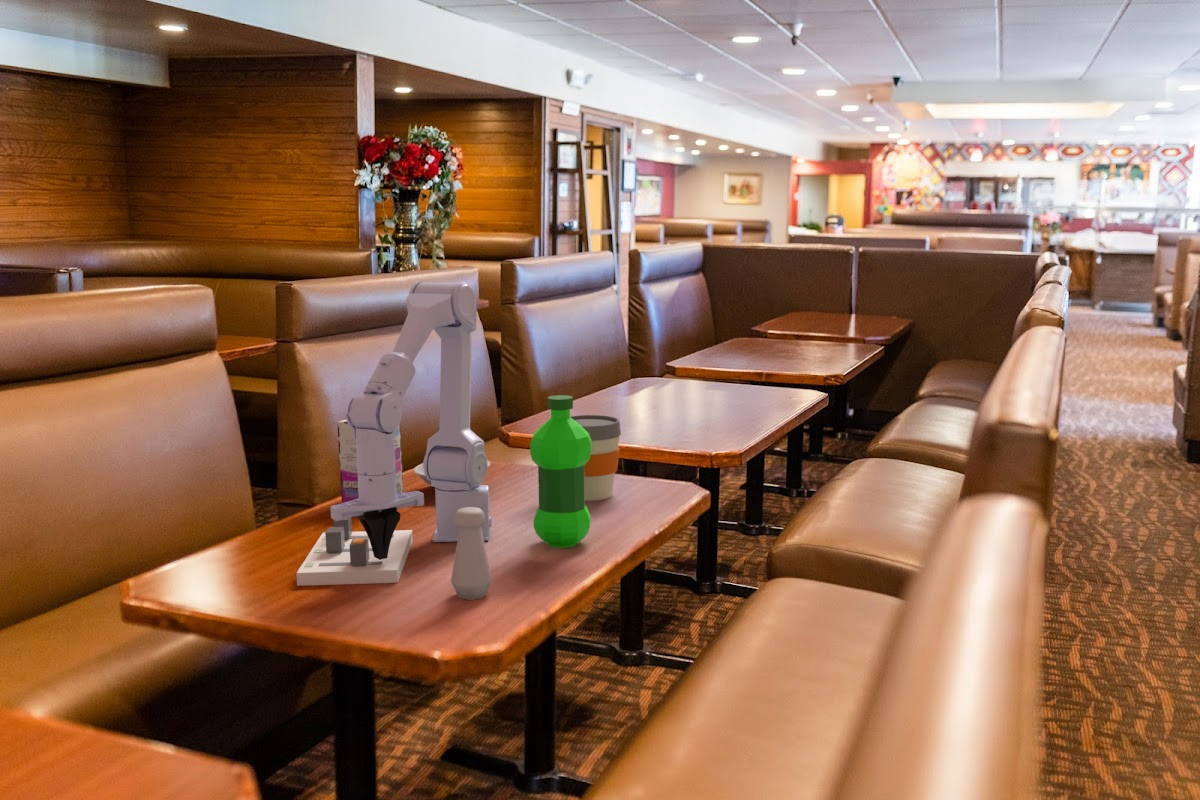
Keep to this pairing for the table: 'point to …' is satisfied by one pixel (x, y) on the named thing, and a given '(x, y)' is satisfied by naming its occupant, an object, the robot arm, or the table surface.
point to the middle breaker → (335, 539)
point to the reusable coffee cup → (600, 454)
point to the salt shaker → (470, 556)
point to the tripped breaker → (359, 551)
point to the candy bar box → (350, 462)
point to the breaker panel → (339, 570)
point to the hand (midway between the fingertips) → (380, 557)
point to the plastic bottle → (561, 476)
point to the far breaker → (345, 526)
